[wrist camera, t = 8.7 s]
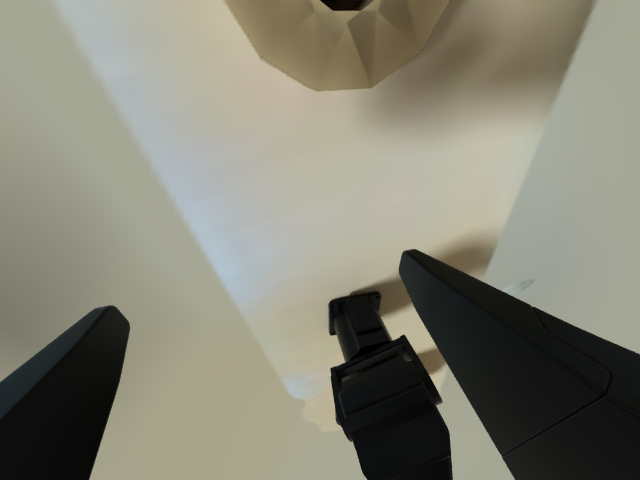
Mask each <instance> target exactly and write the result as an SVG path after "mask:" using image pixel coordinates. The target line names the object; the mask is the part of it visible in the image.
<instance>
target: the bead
mask: <svg viewBox="0 0 640 480" xmlns="http://www.w3.org/2000/svg"><path fill="white" fill-rule="evenodd" d="M449 1H450V0H361V1H360V4H359V6H357V7H356V8H355V9H354V10H352V11H332V10H331V9H330V8H328V7H327V6H326V5H325V4H324V3H322V2H321V1H320V0H224V2H225V3H226V5H227V7H228V8H229V10H230V11H231V13H232V15H233V16H234V18H235V19H236V21H237V23H238V24H239V26H240V27H241V29H242V31H243V32H244V34H245V35H246V37H247V39H248V40H249V42H250V44H251V45H252V47H253V48H254V50H255V52H256V53H257V55H258V56H259V58H260V57H261V58H260V59H262V60H263V61H265V62H266V63H268V64H270V65H271V66H273V67H275V68H276V69H278V70H279V71H281V72H283V73H284V74H286V75H288V76H289V77H291V78H292V79H294V80H296V81H297V82H299V83H301V84H302V85H304V86H306V87H308V88H311V89H313V90H316V91H332V90H348V89H365V88H372V87H373V86H375V85H376V84H377V83H379V82H380V81H381V80H383V79H384V78H386V77H387V76H388V75H390V74H391V73H392V72H394V71H395V70H396V69H398V68H399V67H400V66H402V65H403V64H404V63H406V62H407V61H408V60H410V59H411V58H412V57H414V56H415V55H416V54H418V53H419V52H420V51H421V50H422V48H423V46H424V45H425V43H426V41H427V39H428V38H429V36H430V34H431V32H432V31H433V29H434V27H435V25H436V24H437V22H438V20H439V18H440V17H441V15H442V13H443V12H444V10H445V8H446V6H447V5H448V3H449Z"/></svg>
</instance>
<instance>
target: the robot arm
mask: <svg viewBox="0 0 640 480" xmlns="http://www.w3.org/2000/svg"><path fill="white" fill-rule="evenodd" d="M399 274H400V276H401V278H402V281H403V283H404V285H405V287H406V289H407V292H408V294H409V296H410V298H411V300H412V303H413V305H414V307H415V309H416V311H417V313H418V315H419V317H420V318H421V320H422V322H423V323H424V325H425V327H426V329H427V330H428V332H429V334H430V335H431V337H432V339H433V340H434V342H435V344H436V346H437V347H438V349H439V351H440V352H441V354H442V356H443V357H444V359H445V361H446V363H447V364H448V366H449V368H450V369H451V371H452V373H453V374H454V376H455V378H456V380H457V381H458V383H459V385H460V386H461V388H462V390H463V391H464V393H465V395H466V396H467V398H468V400H469V402H470V403H471V405H472V407H473V408H474V410H475V412H476V413H477V415H478V417H479V418H480V420H481V422H482V423H483V425H484V427H485V429H486V430H487V432H488V434H489V436H490V437H491V439H492V441H493V442H494V444H495V446H496V448H497V449H498V451H499V453H500V454H501V455H502V458H503V460H504V461H505V463H506V464H507V467H508V468H509V470H510V472H511V473H512V475H513V477H514V479H515V480H640V354H638V353H635V352H633V351H631V350H628V349H626V348H623V347H621V346H619V345H617V344H614V343H612V342H610V341H607V340H605V339H603V338H600V337H598V336H596V335H594V334H591V333H589V332H587V331H585V330H582V329H580V328H578V327H575V326H573V325H571V324H569V323H567V322H565V321H563V320H561V319H558V318H556V317H554V316H552V315H550V314H548V313H546V312H544V311H541V310H540V309H538V308H536V307H532V306H531V305H529V304H527V303H525V302H523V301H521V300H519V299H517V298H515V297H513V296H511V295H509V294H507V293H505V292H503V291H501V290H498V289H496V288H494V287H492V286H490V285H488V284H486V283H484V282H482V281H480V280H478V279H476V278H474V277H472V276H470V275H468V274H466V273H464V272H462V271H459V270H457V269H455V268H453V267H451V266H449V265H447V264H445V263H443V262H441V261H439V260H437V259H435V258H433V257H431V256H429V255H427V254H425V253H423V252H420V251H418V250H416V249H411V250H406V251H404V252H403V253H402V256H401V261H400V265H399ZM380 300H381V294H380V293H379V292H374V293H369V294H364V295H360V296H355V297H350V298H346V299H341V300H336V301H332V302H330V303H329V305H328V308H329V333H330V335H337V337H338V341H339V344H340V347H341V350H342V353H343V356H344V359H345V363H343V364H341V365H339V366H337V367H335V366H334V367H332V368H330V369H331V382H332V389H333V396H334V403H335V414H336V422H337V424H338V425H340V426H341V427H342V428H343V431H344V433H345V435H346V437H347V438H348V440H349V441H351V442H352V441H353V443H354V446H355V449H356V451H357V455H358V459H359V462H360V466H361V469H362V472H363V474H364V476H365V477H366V478H367V480H453V477H452V462H451V449H450V434H449V430H448V428H447V426H446V424H445V422H444V420H443V418H442V416H441V415H440V413H439V411H438V409H437V407H436V405H438V404H441V403H442V399H441V397H440V395H439V393H438V391H437V389H436V387H435V385H434V383H433V381H432V380H431V378H430V376H429V374H428V373H427V371H426V369H425V367H424V366H423V364H422V362H421V361H420V359H419V358H418V356H417V354H416V353H415V351H414V349H413V348H412V346H411V344H410V343H409V341H408V340H407V338H406V336H405V335H402V336H400V338H398V339H396V340H394V341H393V340H392V338H391V336H390V334H389V332H388V330H387V329H386V327H385V325H384V323H383V321H382V319H381V317H380V315H379V313H378V311H379V306H380ZM129 332H130V324H129V322H128V320H127V319H126V318H125V317H124V316H123V315H122V313H121V312H120V311H119V310H118V309H117V308H116V307H115V306H113V305H112V306H110V305H109V306H104V307H99V308H95V309H94V310H92V311H91V312H90V313H88V314H87V315H86V316H84V317H83V318H82V319H80V320H79V321H78V322H77V323H75V324H74V325H73V326H72V327H70V328H69V329H68V330H66V331H65V332H64V333H63V334H61V335H60V336H59V337H57V338H56V339H55V340H54V341H53V342H51V343H50V344H48V345H47V346H46V347H45V348H43V349H42V350H41V351H40V352H38V353H37V354H36V355H34V356H33V357H32V358H31V359H29V360H28V361H27V362H25V363H24V364H23V365H22V366H20V367H19V368H18V369H16V370H15V371H14V372H13V373H11V374H10V375H9V376H8V377H6V378H5V379H4V380H3V381H1V382H0V480H89V478H90V475H91V472H92V469H93V466H94V463H95V459H96V456H97V453H98V450H99V447H100V443H101V440H102V437H103V434H104V431H105V427H106V424H107V421H108V418H109V415H110V411H111V408H112V405H113V402H114V399H115V395H116V392H117V389H118V385H119V382H120V377H121V373H122V368H123V363H124V358H125V352H126V347H127V342H128V337H129ZM409 359H410V360H411V361H408V362H405V361H407V360H409Z"/></svg>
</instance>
